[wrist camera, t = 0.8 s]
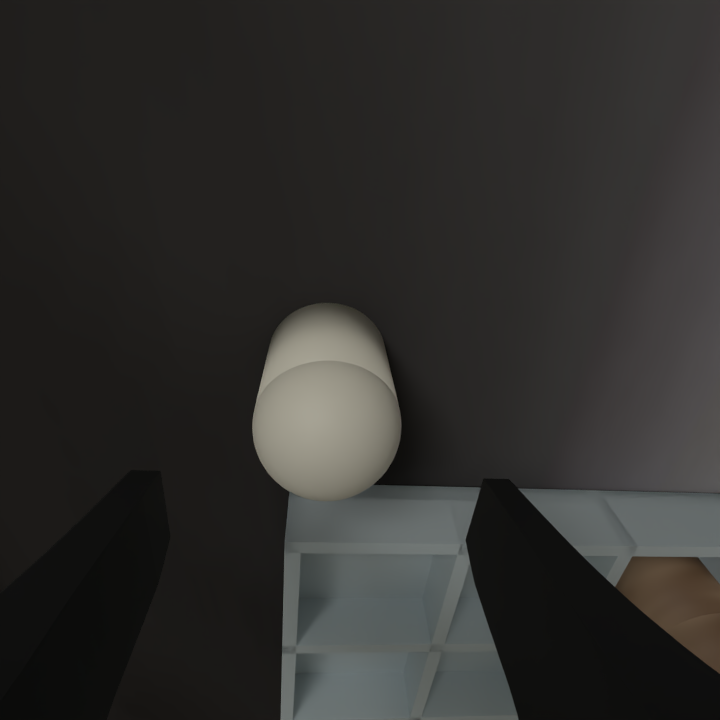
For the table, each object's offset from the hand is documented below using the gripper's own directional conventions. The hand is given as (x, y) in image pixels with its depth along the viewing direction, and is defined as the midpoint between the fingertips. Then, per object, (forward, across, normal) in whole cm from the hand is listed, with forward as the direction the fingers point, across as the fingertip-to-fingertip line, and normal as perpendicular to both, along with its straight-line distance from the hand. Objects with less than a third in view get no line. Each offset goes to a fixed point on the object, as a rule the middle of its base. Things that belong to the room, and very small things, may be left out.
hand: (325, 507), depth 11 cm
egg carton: (+7, -9, +13) cm, 17 cm away
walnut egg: (+6, -16, +10) cm, 19 cm away
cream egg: (+7, 0, 0) cm, 7 cm away
